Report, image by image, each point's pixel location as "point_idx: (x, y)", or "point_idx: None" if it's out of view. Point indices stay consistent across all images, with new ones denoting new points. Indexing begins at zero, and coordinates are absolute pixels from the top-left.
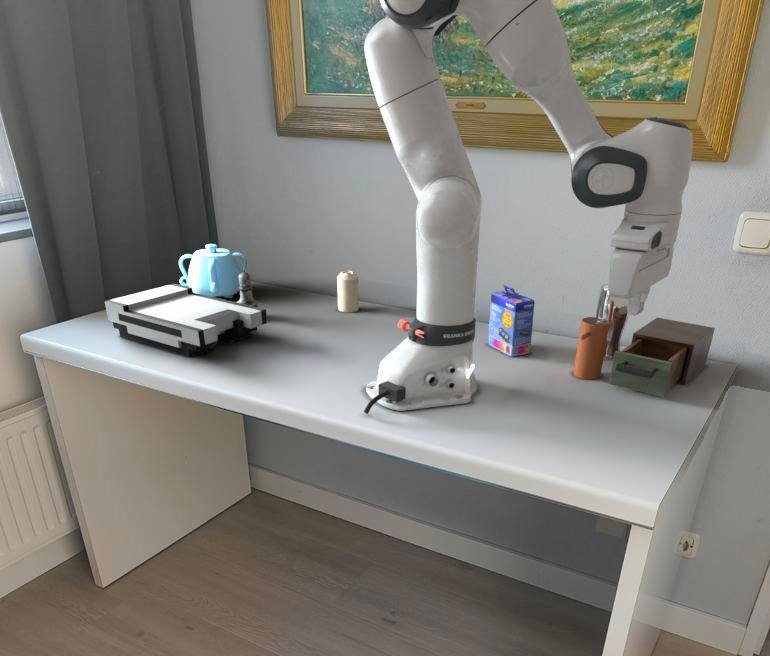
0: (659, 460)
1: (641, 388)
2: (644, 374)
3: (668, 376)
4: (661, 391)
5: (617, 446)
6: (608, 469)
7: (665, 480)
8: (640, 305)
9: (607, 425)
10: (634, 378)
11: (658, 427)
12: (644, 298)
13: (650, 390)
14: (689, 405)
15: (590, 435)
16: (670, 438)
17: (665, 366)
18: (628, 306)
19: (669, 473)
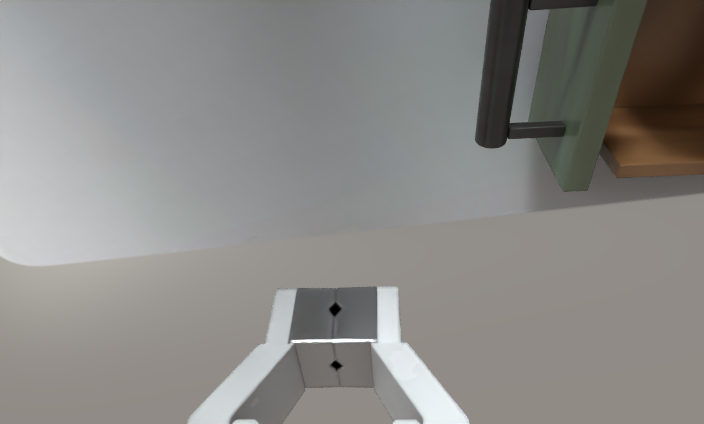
0: (166, 227)
1: (544, 53)
2: (478, 118)
3: (549, 162)
4: (534, 121)
5: (140, 142)
6: (27, 173)
7: (104, 258)
8: (316, 381)
9: (231, 66)
10: (563, 30)
11: (327, 171)
12: (391, 413)
13: (539, 85)
14: (530, 178)
15: (128, 59)
16: (287, 209)
17: (562, 167)
18: (270, 326)
19: (135, 255)
